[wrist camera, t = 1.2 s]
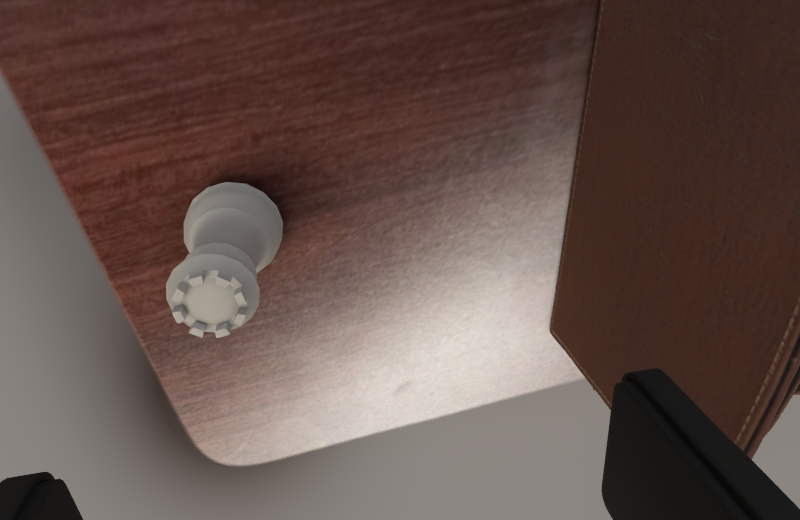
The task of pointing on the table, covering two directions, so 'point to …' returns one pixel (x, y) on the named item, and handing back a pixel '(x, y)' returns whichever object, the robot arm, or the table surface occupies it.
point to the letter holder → (689, 208)
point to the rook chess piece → (224, 258)
